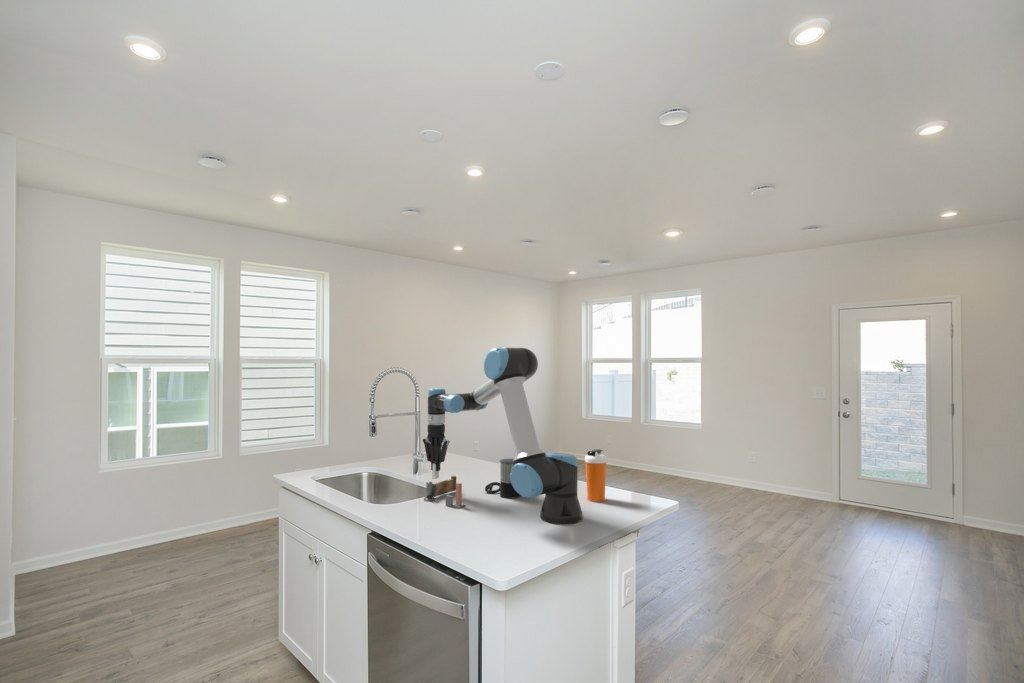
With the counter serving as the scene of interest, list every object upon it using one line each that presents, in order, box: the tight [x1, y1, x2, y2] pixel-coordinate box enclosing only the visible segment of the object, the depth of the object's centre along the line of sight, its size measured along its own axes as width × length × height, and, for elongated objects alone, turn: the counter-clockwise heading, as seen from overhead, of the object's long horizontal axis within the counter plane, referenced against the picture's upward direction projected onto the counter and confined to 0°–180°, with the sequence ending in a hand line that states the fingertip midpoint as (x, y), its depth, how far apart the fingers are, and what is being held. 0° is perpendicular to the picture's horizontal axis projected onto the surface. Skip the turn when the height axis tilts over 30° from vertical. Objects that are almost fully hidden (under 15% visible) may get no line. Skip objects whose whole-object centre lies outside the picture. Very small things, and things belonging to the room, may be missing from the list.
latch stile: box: [445, 482, 466, 509], centre depth 195 cm, size 7×4×9 cm, turn 53°
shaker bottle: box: [584, 449, 608, 503], centre depth 204 cm, size 9×9×20 cm
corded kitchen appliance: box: [484, 458, 522, 499], centre depth 213 cm, size 14×16×15 cm
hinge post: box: [423, 481, 436, 502], centre depth 204 cm, size 4×4×7 cm
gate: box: [432, 475, 457, 498], centre depth 211 cm, size 14×2×6 cm, turn 143°
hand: (435, 478), depth 216 cm, fingers closed
